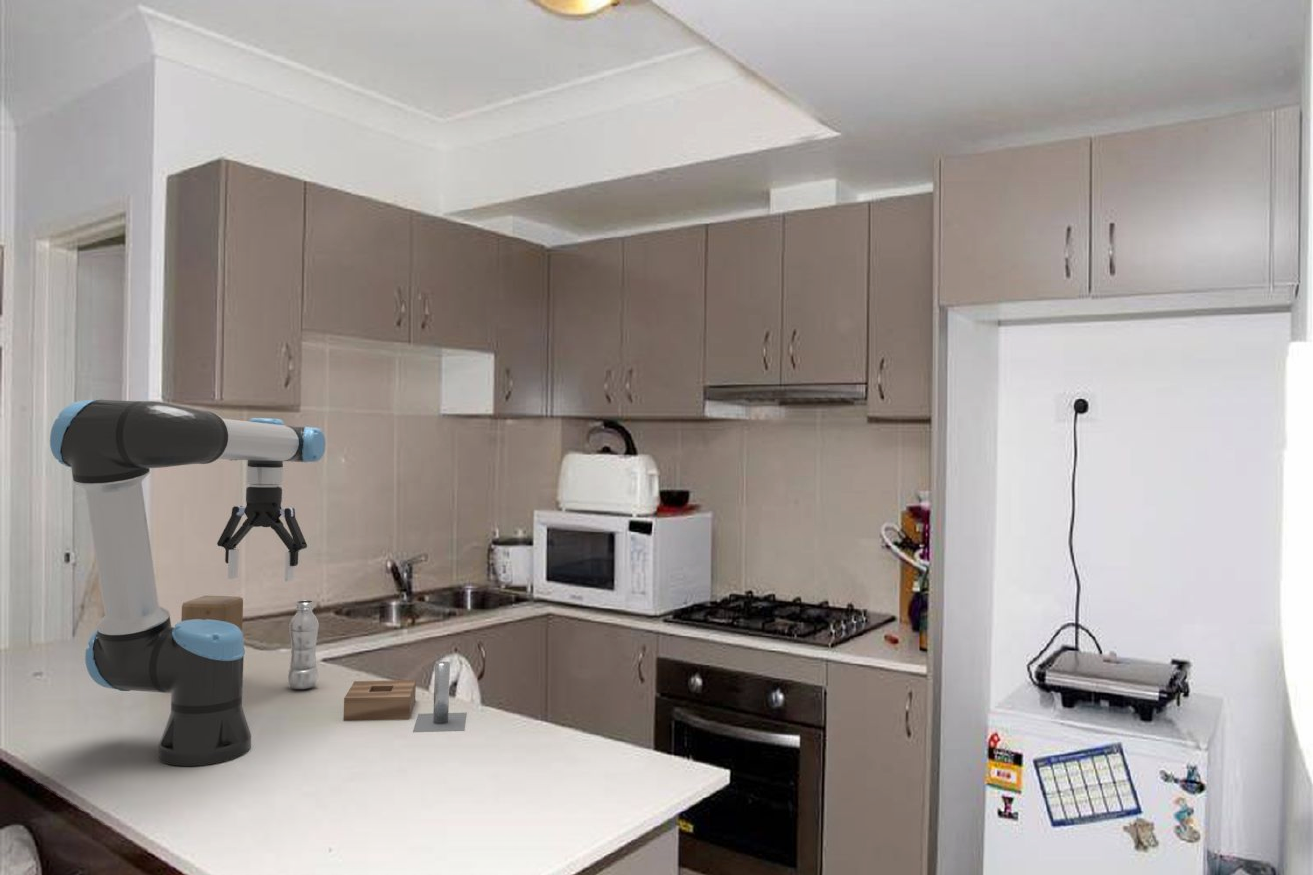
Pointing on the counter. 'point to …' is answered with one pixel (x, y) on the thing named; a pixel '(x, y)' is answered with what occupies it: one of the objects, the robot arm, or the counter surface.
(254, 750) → the counter surface
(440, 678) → the steel pin
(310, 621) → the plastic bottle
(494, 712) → the counter surface
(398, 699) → the walnut socket block
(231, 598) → the wooden block
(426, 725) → the rubber mat
